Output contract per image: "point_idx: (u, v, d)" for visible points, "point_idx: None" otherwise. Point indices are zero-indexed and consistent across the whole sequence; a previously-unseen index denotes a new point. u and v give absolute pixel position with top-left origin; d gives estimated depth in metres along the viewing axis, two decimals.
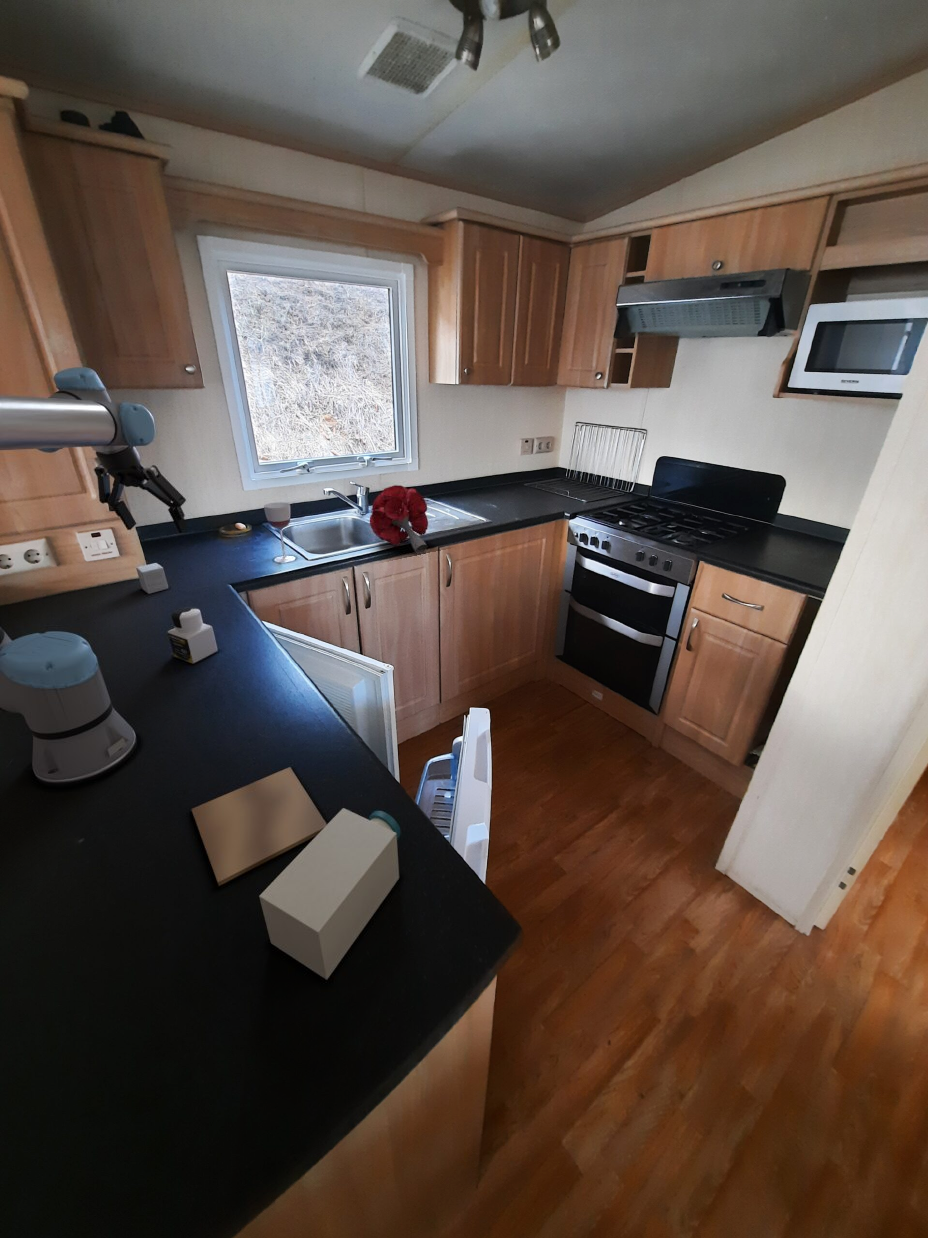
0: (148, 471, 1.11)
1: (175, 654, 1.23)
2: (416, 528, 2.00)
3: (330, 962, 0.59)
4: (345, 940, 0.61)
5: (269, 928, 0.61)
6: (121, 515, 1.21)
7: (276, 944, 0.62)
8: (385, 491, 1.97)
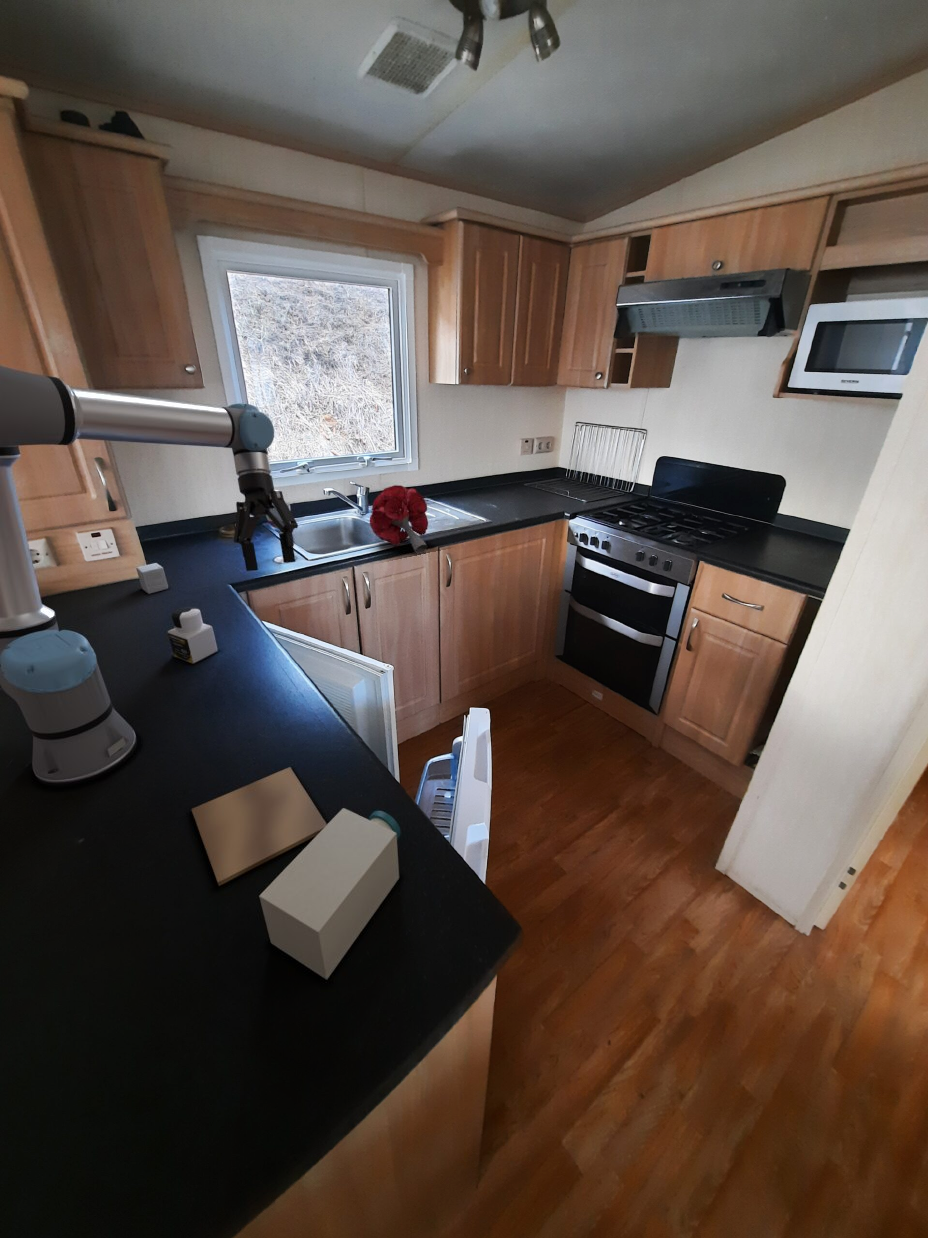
0: (271, 490, 1.13)
1: (175, 654, 1.23)
2: (416, 528, 2.00)
3: (330, 962, 0.59)
4: (345, 940, 0.61)
5: (269, 928, 0.61)
6: (245, 553, 1.21)
7: (276, 944, 0.62)
8: (385, 491, 1.97)
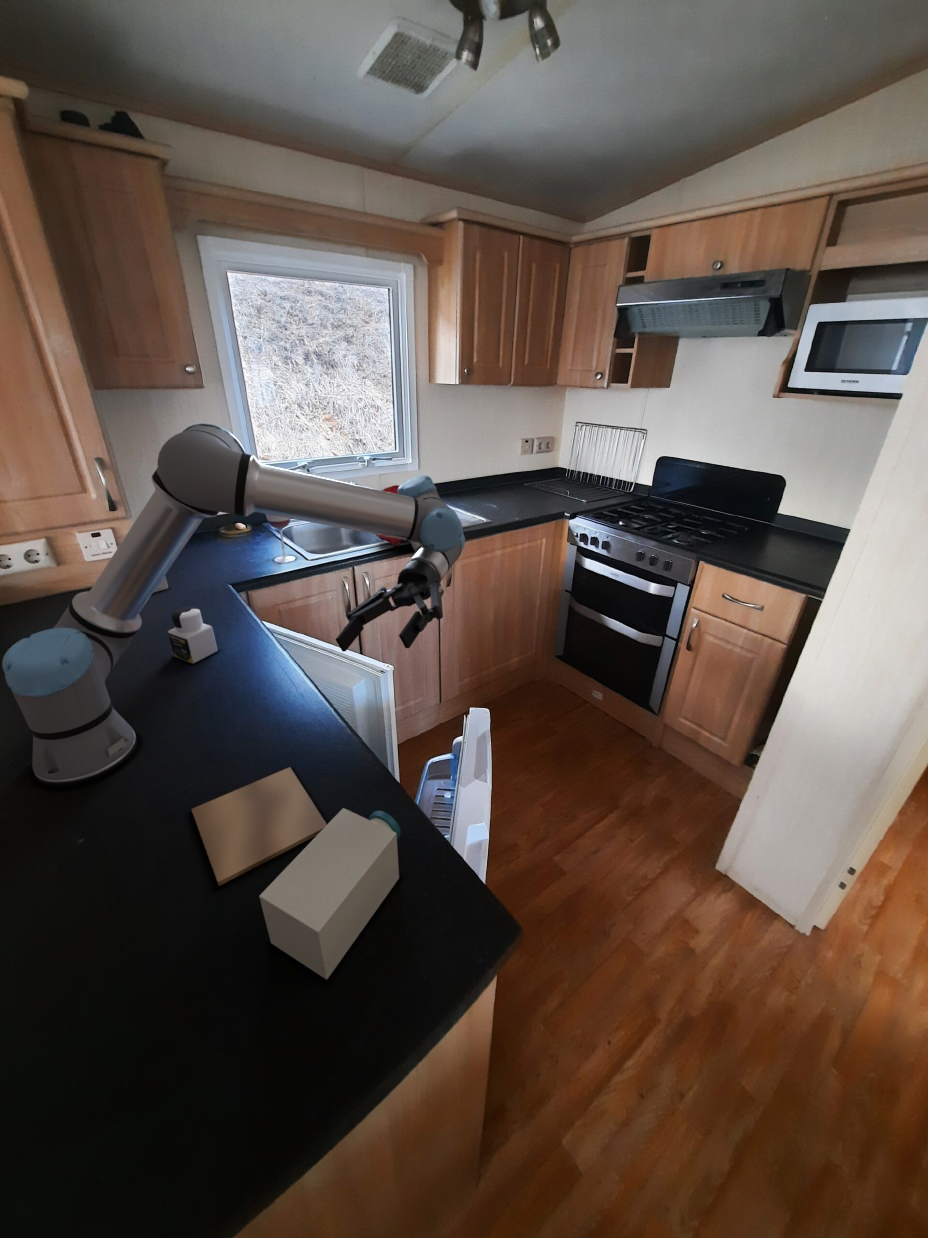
0: (437, 580, 0.93)
1: (175, 654, 1.23)
2: None
3: (330, 962, 0.59)
4: (345, 940, 0.61)
5: (269, 928, 0.61)
6: (350, 625, 0.90)
7: (276, 944, 0.62)
8: None
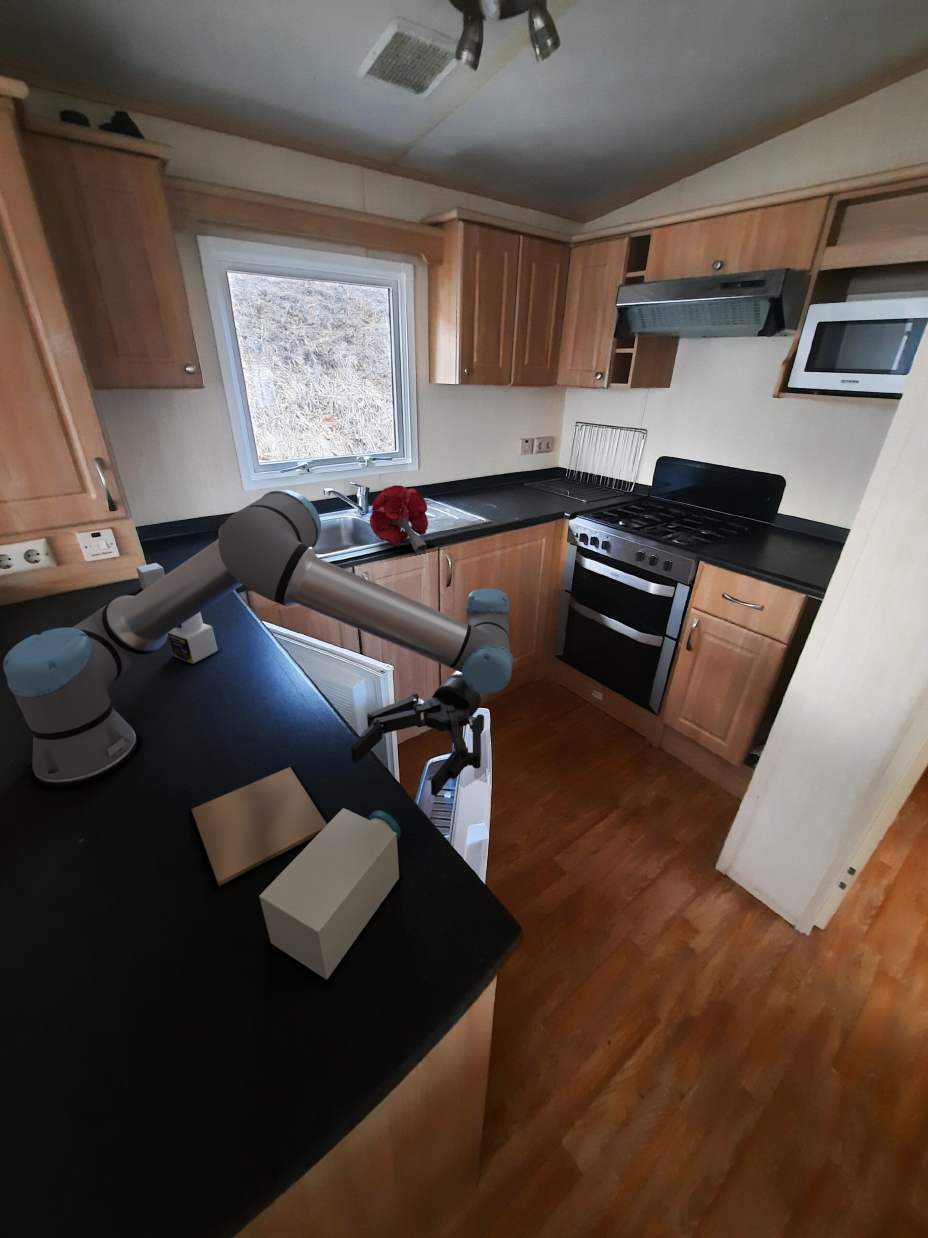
0: (482, 715, 0.81)
1: (175, 654, 1.23)
2: (416, 528, 2.00)
3: (330, 962, 0.59)
4: (345, 940, 0.61)
5: (269, 928, 0.61)
6: (371, 733, 0.77)
7: (276, 944, 0.62)
8: (385, 491, 1.97)
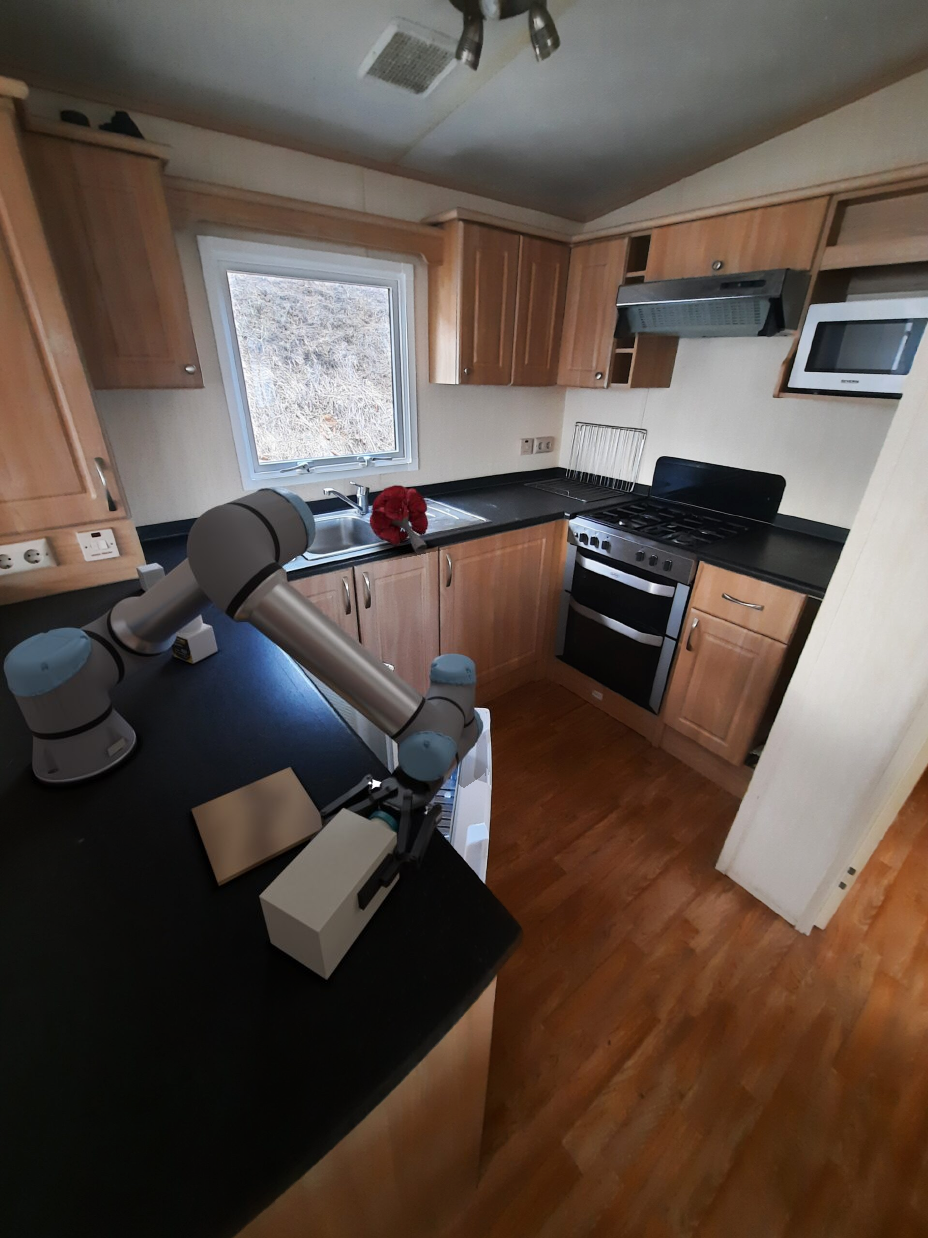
0: (440, 805, 0.74)
1: (175, 654, 1.23)
2: (416, 528, 2.00)
3: (330, 962, 0.59)
4: (345, 940, 0.61)
5: (269, 928, 0.61)
6: None
7: (276, 944, 0.62)
8: (385, 491, 1.97)
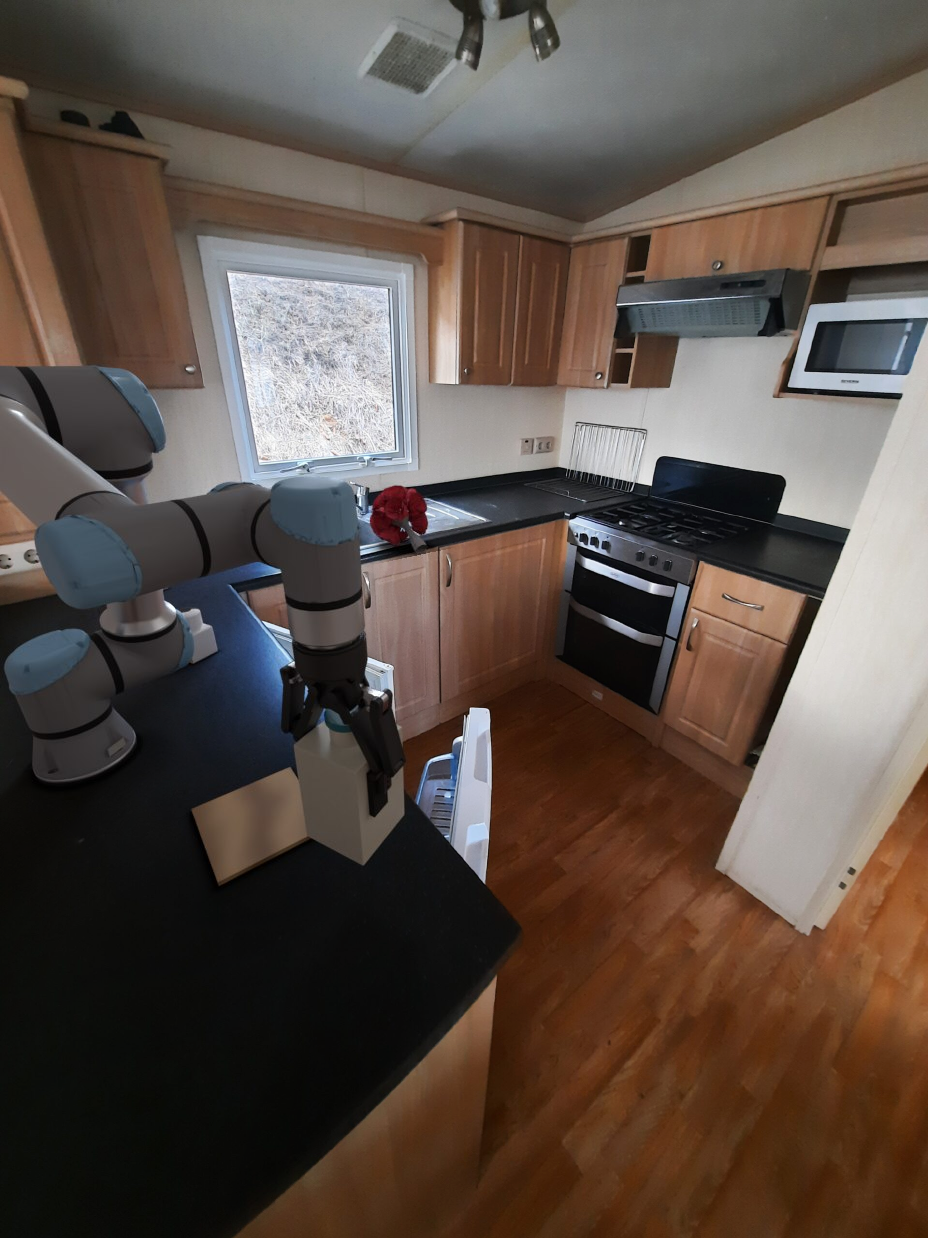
0: (375, 703, 0.51)
1: None
2: (416, 528, 2.00)
3: (395, 820, 0.66)
4: (394, 806, 0.65)
5: None
6: None
7: None
8: (385, 491, 1.97)
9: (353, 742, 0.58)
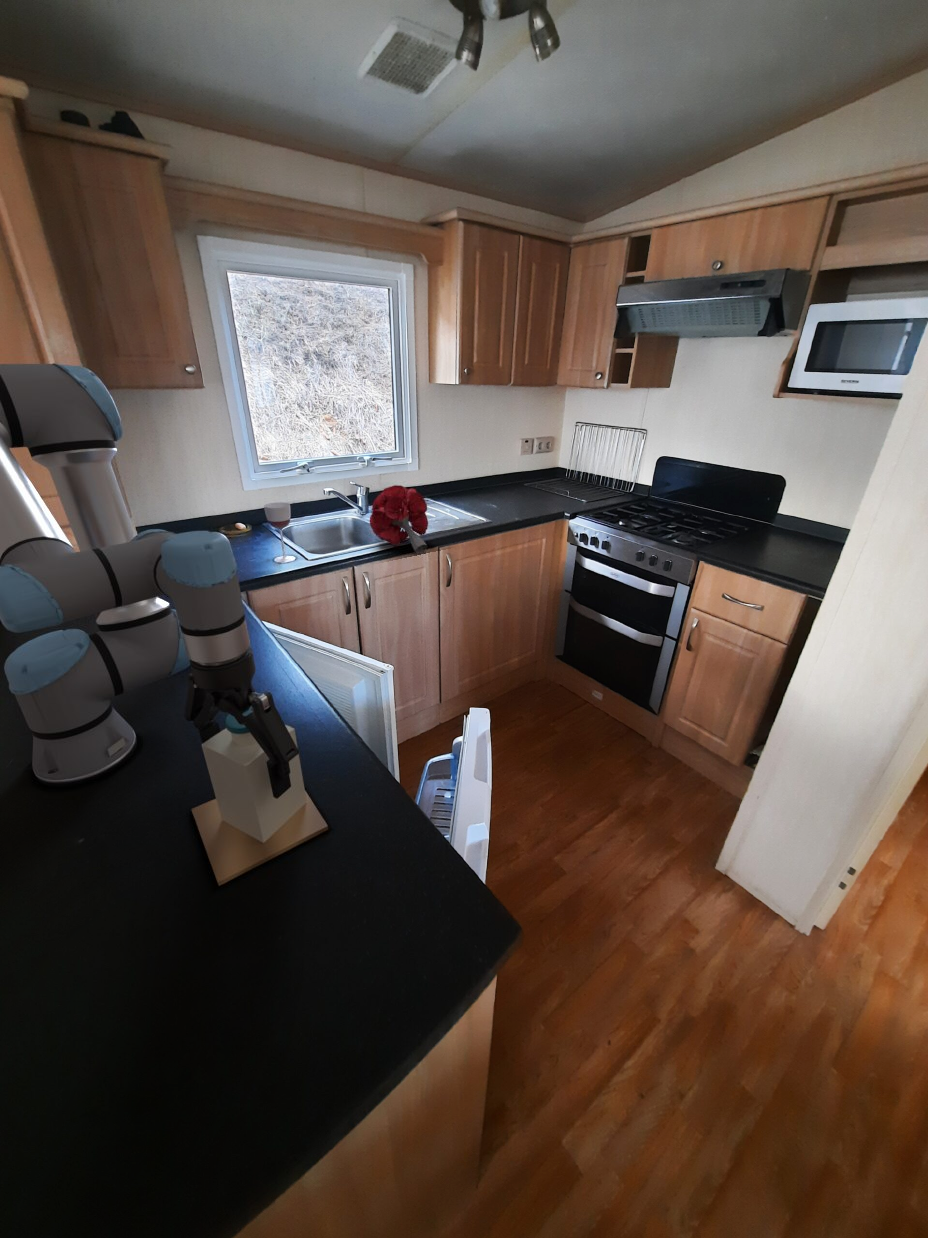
0: (254, 702, 0.65)
1: None
2: (416, 528, 2.00)
3: (296, 807, 0.80)
4: (293, 795, 0.79)
5: None
6: None
7: None
8: (385, 491, 1.97)
9: (249, 741, 0.71)
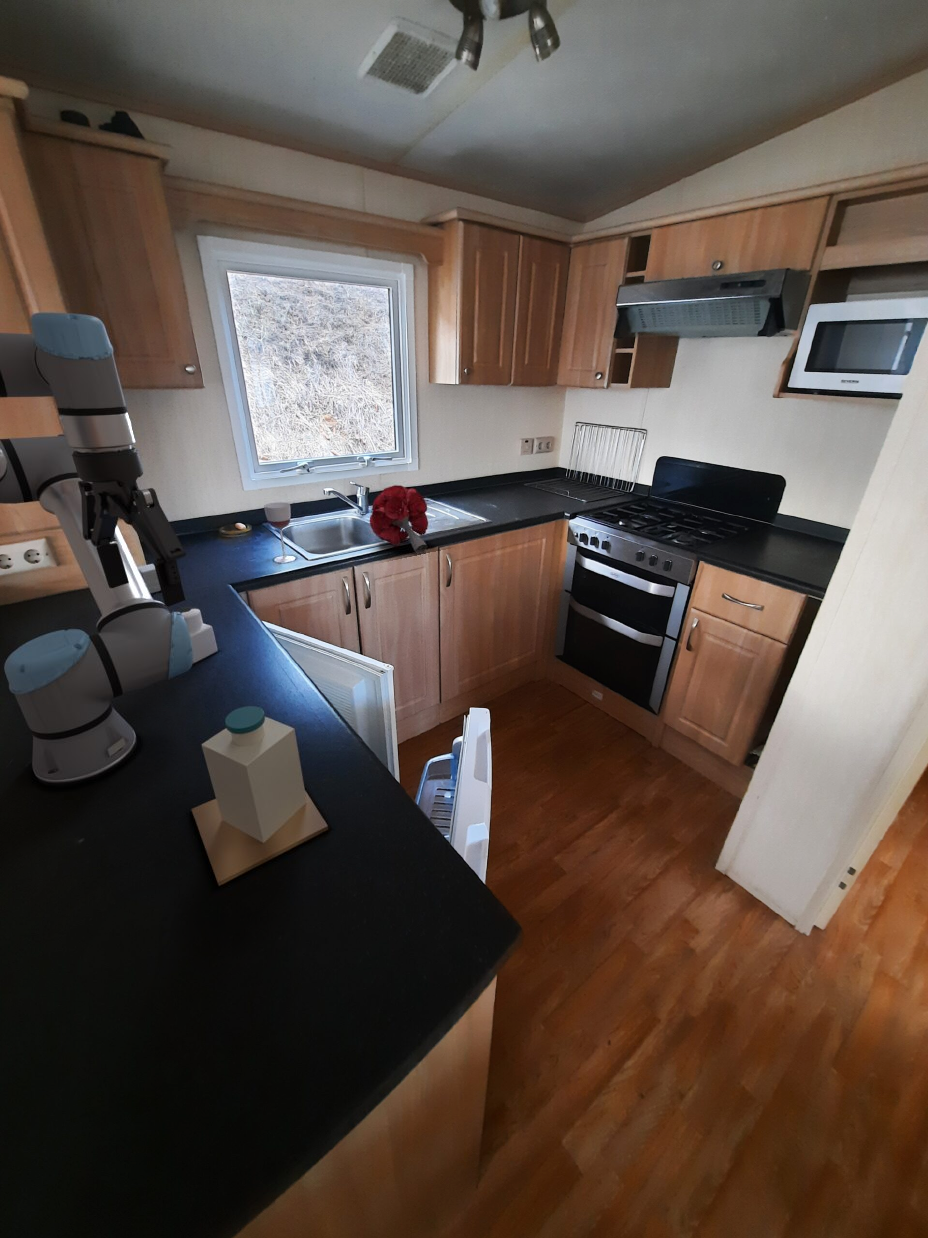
0: (135, 493, 0.66)
1: None
2: (416, 528, 2.00)
3: (296, 807, 0.80)
4: (293, 795, 0.79)
5: None
6: (103, 563, 0.77)
7: None
8: (385, 491, 1.97)
9: (249, 741, 0.71)
